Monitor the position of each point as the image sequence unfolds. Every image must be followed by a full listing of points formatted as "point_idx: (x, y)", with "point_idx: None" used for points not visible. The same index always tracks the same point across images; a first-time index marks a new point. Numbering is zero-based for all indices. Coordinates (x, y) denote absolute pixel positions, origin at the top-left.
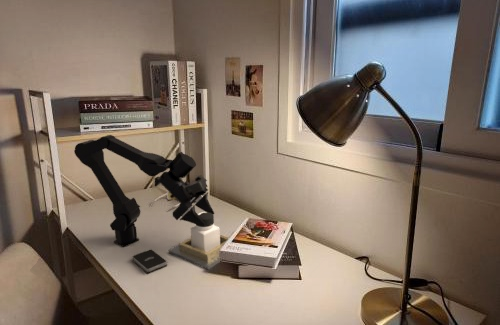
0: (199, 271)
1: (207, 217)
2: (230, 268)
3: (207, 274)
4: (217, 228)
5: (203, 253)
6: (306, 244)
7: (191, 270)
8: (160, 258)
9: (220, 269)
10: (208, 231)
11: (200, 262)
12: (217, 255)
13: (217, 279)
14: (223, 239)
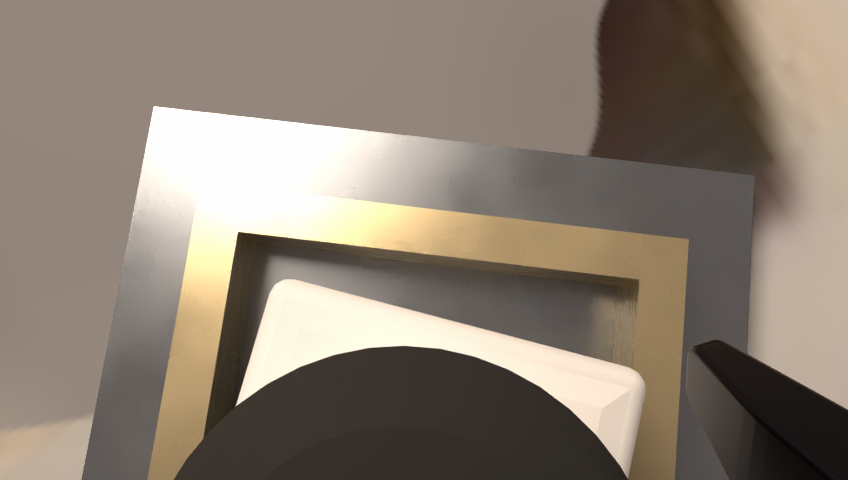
0: (810, 243)
1: (513, 425)
2: (610, 14)
3: (808, 144)
4: (325, 293)
5: (683, 305)
6: None
7: (841, 326)
8: None
9: (673, 85)
10: (518, 360)
11: (733, 298)
12: (520, 218)
13: (820, 20)
14: (232, 310)
